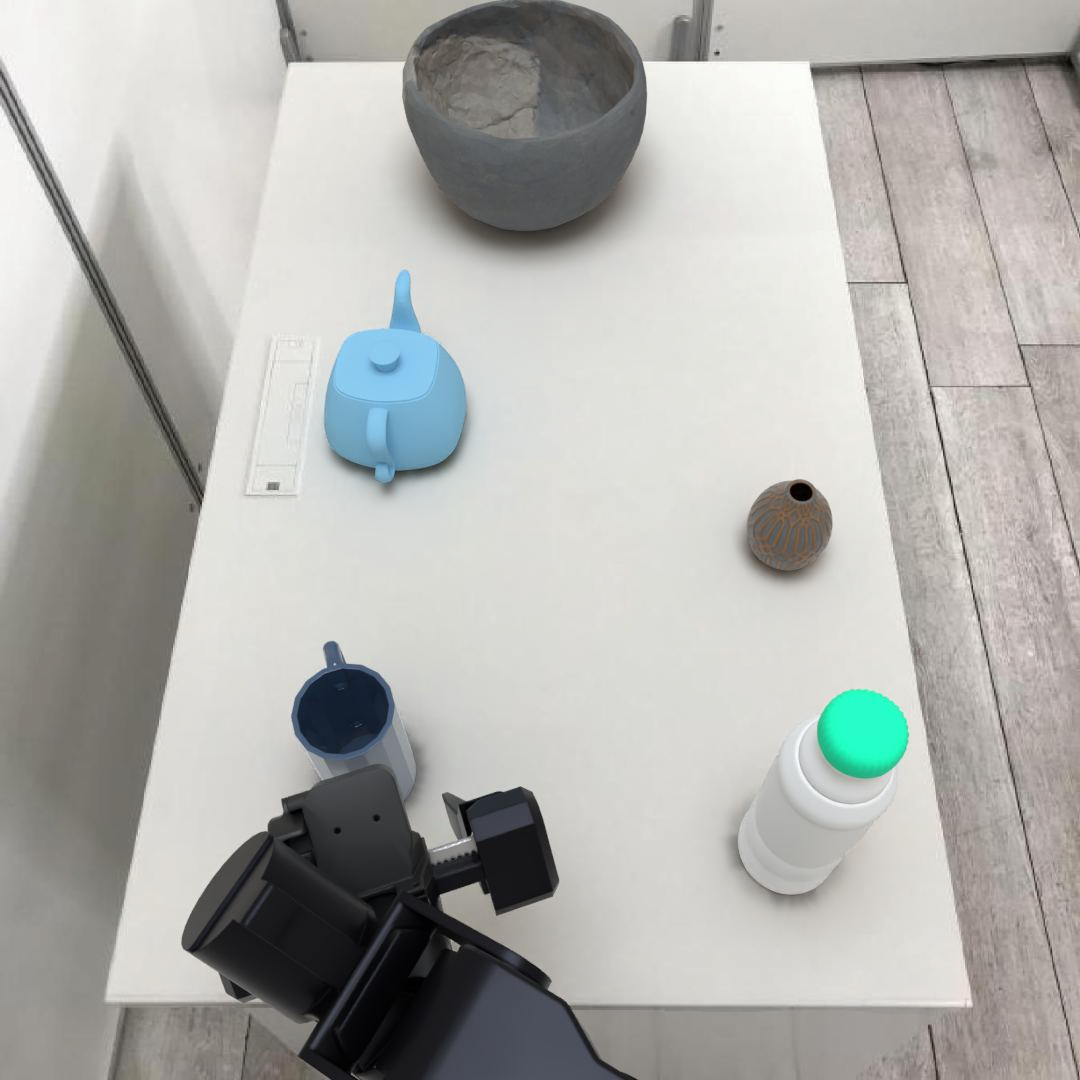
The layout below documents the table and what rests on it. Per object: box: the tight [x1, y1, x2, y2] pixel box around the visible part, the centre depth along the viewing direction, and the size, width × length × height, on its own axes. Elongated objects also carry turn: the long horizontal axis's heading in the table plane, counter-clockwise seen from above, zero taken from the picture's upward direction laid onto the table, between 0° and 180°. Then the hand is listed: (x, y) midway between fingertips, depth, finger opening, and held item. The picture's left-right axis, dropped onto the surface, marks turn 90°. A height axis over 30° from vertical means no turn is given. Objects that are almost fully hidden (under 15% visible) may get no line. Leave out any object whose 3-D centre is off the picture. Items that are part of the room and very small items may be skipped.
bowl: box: [401, 0, 648, 232], centre depth 109 cm, size 24×24×15 cm
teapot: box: [323, 269, 467, 484], centre depth 95 cm, size 13×11×18 cm
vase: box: [746, 478, 834, 571], centre depth 88 cm, size 7×7×9 cm
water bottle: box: [737, 688, 910, 896], centre depth 68 cm, size 7×7×25 cm
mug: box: [290, 640, 417, 803], centre depth 77 cm, size 10×7×13 cm
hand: (375, 822), depth 66 cm, fingers open, 9 cm apart
